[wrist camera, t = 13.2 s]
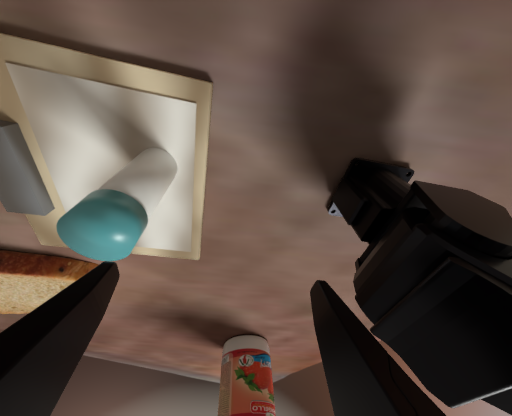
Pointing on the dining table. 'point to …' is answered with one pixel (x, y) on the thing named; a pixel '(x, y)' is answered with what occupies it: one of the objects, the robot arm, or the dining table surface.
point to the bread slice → (35, 279)
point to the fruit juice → (246, 378)
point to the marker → (119, 208)
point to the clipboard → (99, 138)
